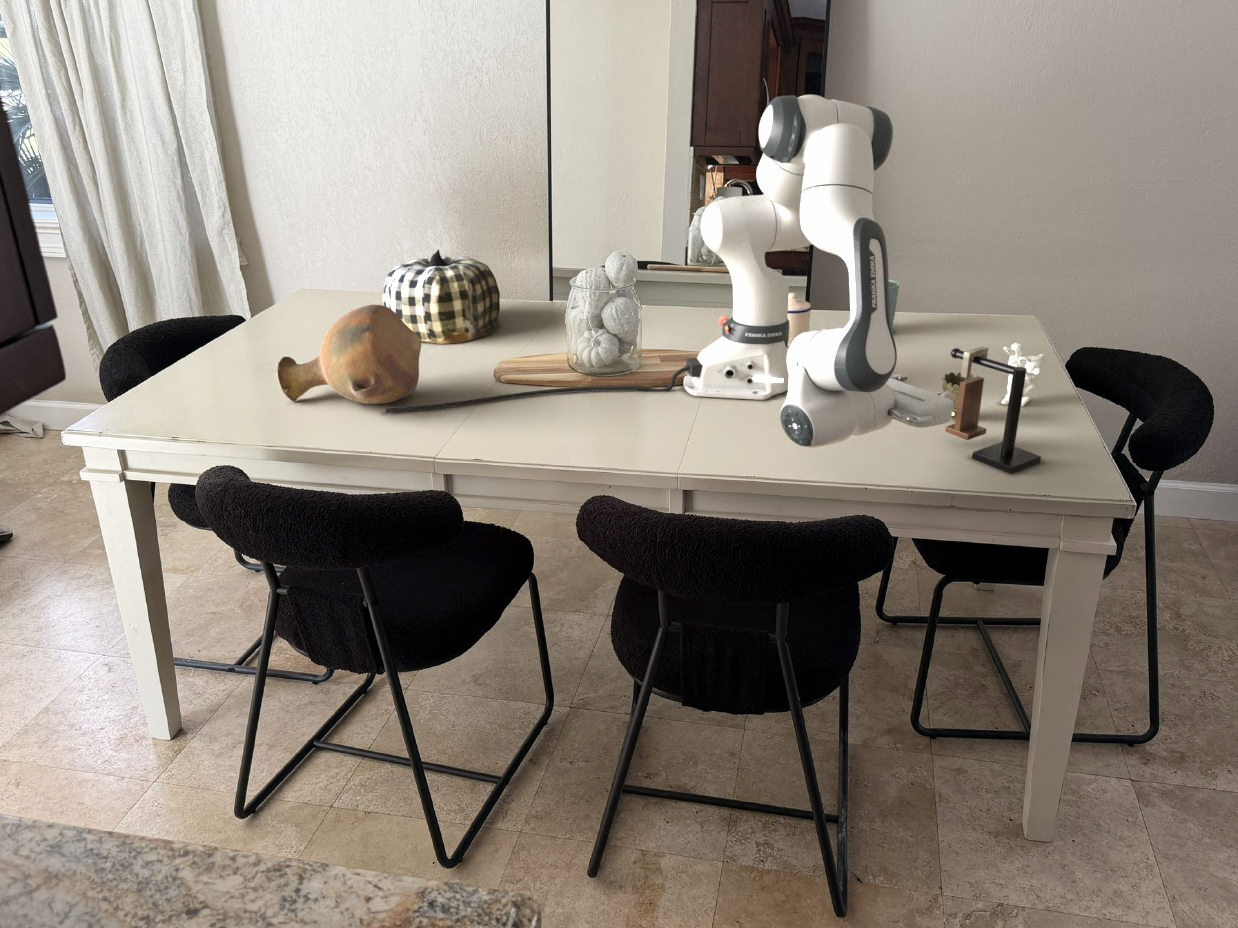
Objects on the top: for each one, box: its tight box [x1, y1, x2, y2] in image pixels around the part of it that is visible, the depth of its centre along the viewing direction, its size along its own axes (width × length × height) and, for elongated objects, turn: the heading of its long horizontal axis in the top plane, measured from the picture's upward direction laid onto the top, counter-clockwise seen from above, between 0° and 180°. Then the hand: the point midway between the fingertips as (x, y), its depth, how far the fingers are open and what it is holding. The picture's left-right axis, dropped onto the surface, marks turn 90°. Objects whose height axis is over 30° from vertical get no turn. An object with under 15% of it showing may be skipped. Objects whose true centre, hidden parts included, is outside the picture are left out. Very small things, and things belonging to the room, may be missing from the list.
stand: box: [950, 347, 1042, 475], centre depth 175 cm, size 8×18×17 cm, turn 34°
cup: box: [941, 371, 984, 420], centre depth 192 cm, size 8×7×8 cm
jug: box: [276, 304, 422, 405], centre depth 203 cm, size 20×20×30 cm
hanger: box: [944, 345, 989, 441], centre depth 178 cm, size 5×5×16 cm
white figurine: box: [1000, 342, 1046, 407], centre depth 198 cm, size 8×7×12 cm
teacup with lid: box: [787, 292, 812, 348], centre depth 237 cm, size 12×9×12 cm
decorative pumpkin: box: [381, 248, 501, 345], centre depth 250 cm, size 30×29×20 cm
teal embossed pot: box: [889, 278, 900, 331], centre depth 244 cm, size 10×10×12 cm
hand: (925, 387), depth 170 cm, fingers open, 8 cm apart
